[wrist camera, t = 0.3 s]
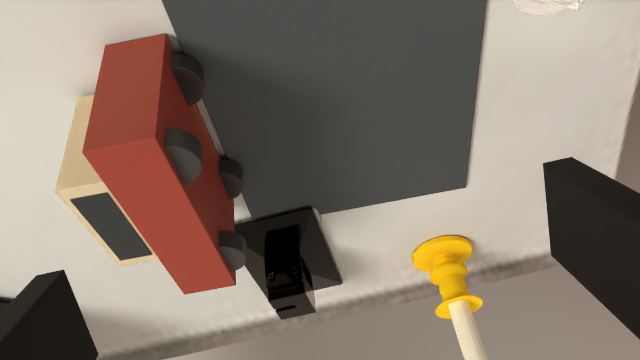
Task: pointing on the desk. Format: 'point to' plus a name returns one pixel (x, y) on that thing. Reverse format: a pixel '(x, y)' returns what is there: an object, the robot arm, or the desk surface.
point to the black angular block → (289, 259)
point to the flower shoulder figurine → (546, 6)
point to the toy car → (153, 168)
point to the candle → (453, 288)
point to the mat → (337, 95)
